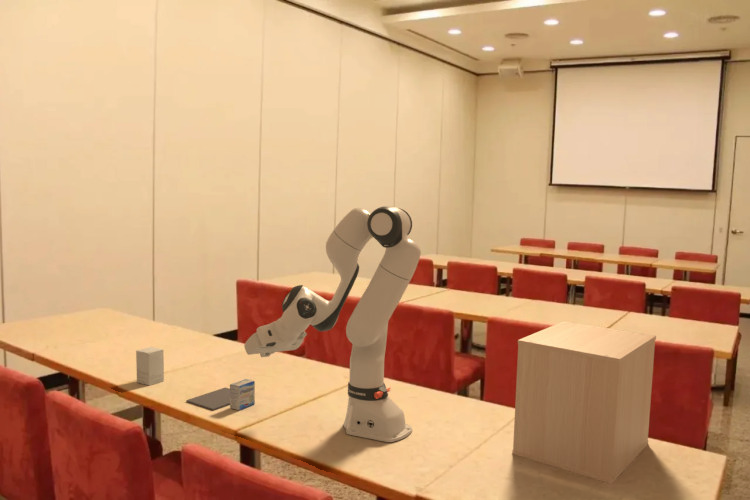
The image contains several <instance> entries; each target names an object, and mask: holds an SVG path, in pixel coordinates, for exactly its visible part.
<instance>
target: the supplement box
mask: <svg viewBox="0 0 750 500" xmlns="http://www.w3.org/2000/svg"><path fill="white" fill-rule="evenodd" d="M135 356H136V357H135V361H136V364H135V365H136V383H138V384H142V385H146V386H153V385H155V384H160V383H162V382H165V371H164V370H165V369H164V365H165V363H164V362H165V361H164V358H165V357H164V349H163V348H159V347H158V348H157V347H153V346H149V347H145V348H141V349H138V350H136V351H135Z"/></svg>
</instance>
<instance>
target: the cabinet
mask: <svg viewBox="0 0 750 500" xmlns="http://www.w3.org/2000/svg"><path fill="white" fill-rule="evenodd" d="M656 340H657V336H656V335H655V334H647V333H641V332H634V331H628V330H621V329H616V328H608V327H603V326H598V325H597V326H596V325H590V324H584V323H578V322H572V321H565V320H564V321H561V322H558V323H556V324H553V325H551V326H550V327H545V328H544V329H541V330H539V331H537V332H534V333H532V334H530V335H527V336H525V337H524V336H523V337H522V338H520V339H518V340H517V347H518V348H517V363H516V364H517V365H516V382H515V383H516V385H515V386H516V387H515V404H514V405H515V407H514V424H513V425H514V426H513V445H512V450H511V452H512V453H511V455H516V456H518V457H521V458H524V459H528V460H531V461H535V462H539V463H541V464H544V465H548V466H551V467H554V468H559V469H561V470H565V471H568V472H572V473H575V474H577V475H581V476H584V477H588V478H590V479H594V480H598V481H602V482H605V483H607V484H611V485H612V484H613V483H614V482H615V481H616V480H617V478H619V476H620V475H622V473H623V472H624V471H625V470H626V469H627V468H628V467H629V465H630V464H631V463H632V462H633V461H634V460H635V459H636V457H638V456H639V454H640V453H642V451H643V450H644V449H645V448H646V447H647V446H648V445H649V427H650V417H651V415H650V414H651V404H652V403H651V402H652V401H651V400H652V388H653V375H654V359H655V349H656V348H655V347H656V346H655V345H656Z"/></svg>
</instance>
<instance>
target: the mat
mask: <svg viewBox="0 0 750 500" xmlns="http://www.w3.org/2000/svg"><path fill="white" fill-rule="evenodd" d="M186 403H189V404H192V405H195V406H198V407H201V408H204V409H207V410H211V411H212V412H213V411H216V410H219V409H222V408H225V407H227V406H230V387H229V388H228V387H226V386H225V387H222V388H219V389H217V390H213V391H210V392H207V393H205V394H200V395H198V396H195V397H193V398H192V397H191V398H188V399H187V400H186Z"/></svg>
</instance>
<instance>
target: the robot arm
mask: <svg viewBox="0 0 750 500" xmlns="http://www.w3.org/2000/svg"><path fill="white" fill-rule="evenodd" d="M412 229H413V221H412V217H411V216H410V214H409V213H408V211H406V210H404V209H403V208H400V207H396V206H391V205H388V206H380V207H378V208H376V209H374V210H373V211H372V212H369V211H368V210H366V209H364V208H361V207H357V208H352V209H351V210H350V211H349V212H348V213H346V215H345V216H343V218H342V219H341V220H340V221H339V223H338V224H337V225H336V227H334V229H333V231H332V232H331V233H330V234H329V236H328V238H327V240H326V242H325V252H326V255H327V257H328V260H329V261H330V263H331V264H332V266H333V267H334V268H335V270H336V271H337V273H338V274H339V276H340V282H339V284H338V285H337V289H336V290H335V291H334V294H333V296H332V298H331V300H327V299H325V298H324V297H323V296H321V295H319V294H317V293H316V292H315V291H314V290H312V289H311V288H308V287H307V286H305V285H303V284H299V285H295V286H293V287H292V289H291V290H290V291H289V292H287V294H286V295H285V297H284V298H283V301H282V302H281V308H282V314H281V317H279V318H278V319H277V320H275V321H273V322H270V323H269V324H264V325H261V326H258V327H257V328H256V332H254V333H252V335H251V336H249V337H248V339H247V340H246V341H245V343H244V345H243V346H244V350H245V353H246V354H247V355H248V356H249V355H251V356H252V355H260V356H259V357H260V358H269V357H270V356H271V355H273V354H275V353H279V352H286V351H289V352H290V351H295V350H297V349H299V347H301V345H302V344H303V343H304V339H305V337H306V336H307V335H308V333H307V332H306V330H307V329H308V328H309V327H310V326H311V327H312V328H314V329H315V330H316V331H318V332H319V333H321V332H328V331H330V330H332V329H333V328H334V327H335V325H336V323H337V322H338V319H339V317H340V313H341V311H342V309H343V307H344V304H345V303H346V300H347V298H348V296H349V295H350V292H351V291H352V288H353V286H354V284H355V282H356V280H357V278H358V276H359V271H360V265H359V263H358V262H359V261H358V260H359V256H360V253H361V252H362V250H364V247H366V245H367V243H368V242H369V241H371V239H375V241H377V242H378V243H379V245H381V247H382V248H384V249H385V252H384V254H383V256H382V259H381V260H380V261H379V264H378V266H377V268H376V269H375V271H374V274H373V276H372V278H371V279H370V282H369V283H368V285H367V287H366V288H365V291H364V292H363V294H362V296H361V298H360V299H359V301H358V302H357V304H356V306H355V307H354V309H353V312H352V313H351V315H350V316H349V319H348V321H347V324H346V326H345V327H346V328H345V329H346V330H345V333H346V334H345V335H346V337H347V340H348V341H349V342H350V343H351V344H352V345H351V352H350V355H349V357H350V358H349V381H348V384H347V394H348V395H347V396H348V399H347V409H346V414H345V418H344V422H343V424H342V425H343V428H344V429H345V433H346V434H347V435H350V436H355V437H358V438H364V439H371V440H375V441H379V442H380V441H381V442H384V443H393V442H397V441H401V440H402V439H405V438H407V437H408V436H409V435H411V434H412V432H413V427H412V425H409V424H407V423H406V418H405V412H404V410H403V409H402V408H400V407H399V406H398V405H397V404H396V402H394V401H393V400H392V399H391V397H390V396H389V392H391V387H388V388H387V387H386V384H385V381H384V380H385V357H386V356H385V355H386V349H387V348H386V347H387V340H388V339H387V338H388V328H389V320H390V319H391V317H392V315H393V314H394V311H395V310H396V309H397V307H398V305H399V303H400V302H401V299H402V298H403V295H404V294H405V291H406V290H407V288H408V286H409V285H410V282H411V280H412V278H413V276H414V274H415V272H416V269H417V267H418V264H419V262H420V258H421V254H422V253H421V252H422V251H421V248H420V246H419V245H418V243H416V242H415V240H414V239H411V238H410V237H409V235H410V233H411V231H412Z"/></svg>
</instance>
